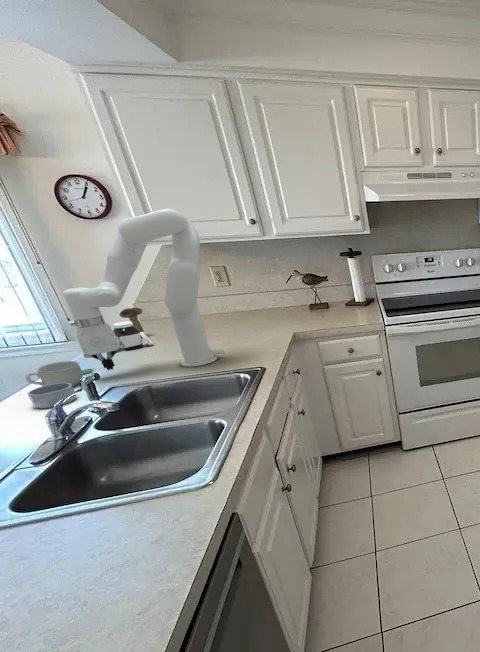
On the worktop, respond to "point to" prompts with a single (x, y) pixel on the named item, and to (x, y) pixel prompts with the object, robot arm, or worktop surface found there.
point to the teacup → (57, 373)
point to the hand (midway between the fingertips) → (110, 368)
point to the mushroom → (133, 317)
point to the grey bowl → (51, 395)
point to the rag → (86, 371)
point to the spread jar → (129, 336)
